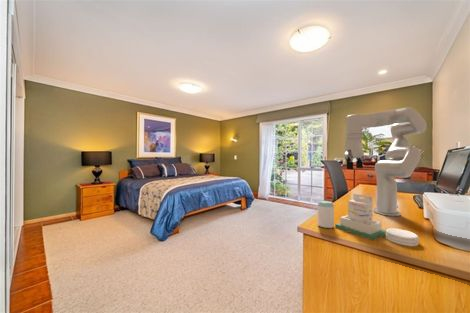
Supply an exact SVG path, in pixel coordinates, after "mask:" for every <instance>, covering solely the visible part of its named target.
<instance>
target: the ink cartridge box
mask: <svg viewBox="0 0 470 313" xmlns="http://www.w3.org/2000/svg"><path fill="white" fill-rule="evenodd" d="M347 201H348V202H347V207H348V208H347V215H348V219H350V220H353V221H357V222H360V223H364V224H367V225H371V224H372V220H373V210H374V208H373V207H374V206H373V204H374V203H373V197H372V196H371V195H366V194H360V193H352V199H350V200H347Z"/></svg>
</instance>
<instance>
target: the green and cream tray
mask: <svg viewBox="0 0 470 313" xmlns="http://www.w3.org/2000/svg"><path fill="white" fill-rule="evenodd" d="M334 227H335V228H336V229H340V230H342V231H345V232H348V233H351V234H354V235H358V236H360V237H362V238H365V239H368V240H371V241H373V240H376V239H379V238H381V237H383V236H386V230H387V229H382V222H381V221H378V220H373V219H372V224H371V225H367V224H364V223H360V222H357V221H353V220H350V219H348V214H347V215H343V216H340V218H339V222H338V223H334Z"/></svg>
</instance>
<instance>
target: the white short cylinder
mask: <svg viewBox="0 0 470 313" xmlns="http://www.w3.org/2000/svg"><path fill="white" fill-rule="evenodd" d="M385 230H386V235H385V238H386V239H387V240H388V241H389V242H392V243H394V244H397V245H399V246H400V245H401V246H405V247H417V246H418V245H419V236H418V235H417V234H416V233H414V232H412V231H410V230H406V229H403V228H402V229H401V228H393V227H390V228H387V229H385Z"/></svg>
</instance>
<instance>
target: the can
mask: <svg viewBox="0 0 470 313" xmlns="http://www.w3.org/2000/svg"><path fill="white" fill-rule="evenodd" d="M317 225H318V226H319V227H320V228H322V227H323V228H322V229H327V228H330V229H332V228H334V227H335V206H334V204H333V201H330V200H319V202H318V203H317Z"/></svg>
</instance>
